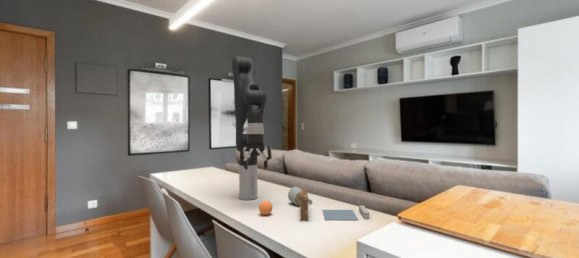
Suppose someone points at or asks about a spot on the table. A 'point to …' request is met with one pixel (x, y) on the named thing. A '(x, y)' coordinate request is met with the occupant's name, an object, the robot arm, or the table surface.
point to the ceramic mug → (296, 196)
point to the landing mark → (339, 215)
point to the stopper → (364, 212)
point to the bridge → (303, 204)
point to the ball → (265, 207)
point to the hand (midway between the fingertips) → (255, 169)
